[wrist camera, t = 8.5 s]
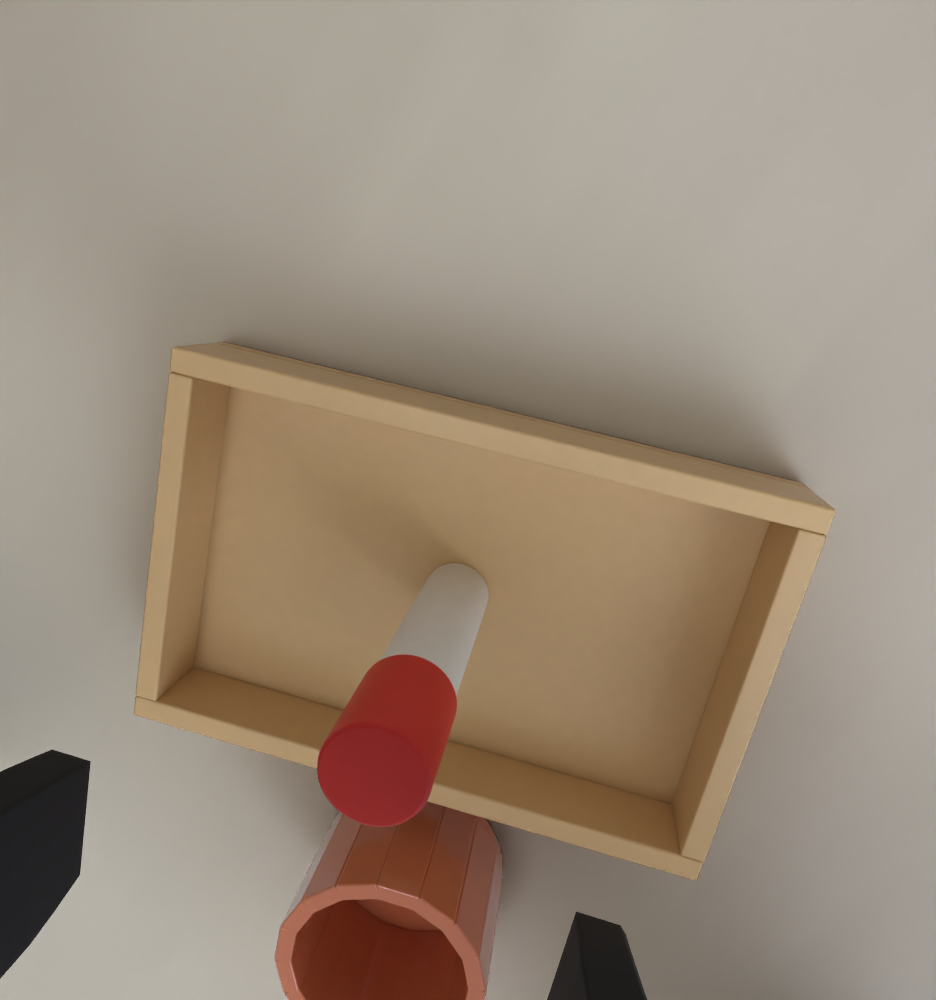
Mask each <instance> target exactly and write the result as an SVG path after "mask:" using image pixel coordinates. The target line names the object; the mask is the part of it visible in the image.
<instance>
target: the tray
mask: <svg viewBox="0 0 936 1000" xmlns="http://www.w3.org/2000/svg"><path fill="white" fill-rule="evenodd" d="M170 371H171V372H172V373H170V374H169V380H168V390H167V399H166V409H165V418H164V428H163V437H162V447H161V457H160V466H159V476H158V485H157V495H156V505H155V514H154V524H153V533H152V543H151V552H150V562H149V572H148V581H147V591H146V600H145V610H144V619H143V629H142V639H141V648H140V658H139V667H138V677H137V686H136V695H137V696H136V698H135V707H134V714H135V715H137V716H140V717H143V718H147V719H150V720H154V721H157V722H160V723H164V724H167V725H171V726H174V727H177V728H181V729H184V730H187V731H191V732H194V733H198V734H201V735H204V736H208V737H211V738H215V739H218V740H221V741H225V742H228V743H231V744H235V745H238V746H242V747H245V748H248V749H252V750H255V751H259V752H262V753H265V754H269V755H272V756H275V757H279V758H282V759H286V760H289V761H292V762H296V763H299V764H303V765H306V766H309V767H313V768H316V769H317V761H318V755H319V752H320V749H321V747H322V745H323V743H324V742H325V740H326V738H327V737H328V735H329V733H330V732H331V730H332V728H333V727H334V725H335V723H336V722H337V720H338V719H339V717H340V715H341V714H342V712H343V710H344V709H345V707H346V705H347V704H348V702H349V700H350V699H351V697H352V695H353V694H354V692H355V690H356V689H357V687H358V685H359V684H360V682H361V681H362V679H363V677H364V676H365V674H366V672H367V671H368V670H369V669H370V668H371V667H372V666H373V665H374V664H375V663H377V662H378V661H379V660H380V659H381V657H382V655H383V654H384V652H385V650H386V648H387V647H388V645H389V643H390V642H391V640H392V638H393V637H394V635H395V633H396V631H397V630H398V628H399V626H400V625H401V623H402V621H403V620H404V618H405V616H406V614H407V613H408V611H409V609H410V608H411V606H412V604H413V603H414V601H415V599H416V597H417V596H418V594H419V592H420V591H421V589H422V587H423V586H424V584H425V582H426V580H427V579H428V577H429V576H430V574H431V573H432V572H433V571H434V570H435V569H437V568H438V567H440V566H442V565H445V564H449V563H460V564H464V565H467V566H469V567H471V568H473V569H475V570H476V571H477V572H478V573H479V574H480V575H481V576H482V577H483V579H484V580H485V582H486V585H487V588H488V593H489V598H488V603H487V606H486V609H485V612H484V615H483V618H482V621H481V624H480V627H479V630H478V633H477V636H476V639H475V642H474V645H473V648H472V651H471V654H470V657H469V660H468V663H467V666H466V669H465V672H464V675H463V678H462V681H461V684H460V687H459V690H458V693H457V696H456V698H457V711H456V716H455V719H454V722H453V725H452V728H451V731H450V734H449V737H448V740H447V743H446V747H445V750H444V753H443V756H442V759H441V762H440V765H439V768H438V771H437V775H436V778H435V781H434V784H433V787H432V790H431V793H430V796H429V799H428V802H431V803H434V804H438V805H441V806H445V807H448V808H451V809H455V810H458V811H462V812H465V813H468V814H472V815H475V816H478V817H482V818H485V819H489V820H492V821H495V822H499V823H502V824H505V825H509V826H512V827H516V828H519V829H522V830H526V831H529V832H533V833H536V834H539V835H543V836H546V837H549V838H553V839H556V840H560V841H563V842H566V843H570V844H573V845H577V846H580V847H583V848H587V849H590V850H593V851H597V852H600V853H604V854H607V855H610V856H614V857H617V858H621V859H624V860H627V861H631V862H634V863H637V864H641V865H644V866H648V867H651V868H654V869H658V870H661V871H665V872H668V873H671V874H675V875H678V876H681V877H685V878H688V879H692V880H697V878H698V876H699V873H700V870H701V868H702V865H703V861H705V858H706V855H707V853H708V850H709V847H710V845H711V842H712V839H713V837H714V834H715V831H716V829H717V826H718V823H719V821H720V818H721V815H722V813H723V810H724V808H725V805H726V802H727V800H728V797H729V794H730V792H731V789H732V786H733V784H734V781H735V778H736V776H737V773H738V770H739V768H740V765H741V762H742V760H743V757H744V754H745V752H746V749H747V746H748V744H749V741H750V738H751V736H752V733H753V730H754V728H755V725H756V723H757V720H758V717H759V715H760V712H761V709H762V707H763V704H764V701H765V699H766V696H767V693H768V691H769V688H770V685H771V683H772V680H773V677H774V675H775V672H776V669H777V667H778V664H779V661H780V659H781V656H782V653H783V651H784V648H785V645H786V643H787V640H788V637H789V635H790V632H791V630H792V627H793V624H794V622H795V619H796V616H797V614H798V611H799V608H800V606H801V603H802V600H803V598H804V595H805V592H806V590H807V587H808V584H809V582H810V579H811V576H812V574H813V571H814V568H815V566H816V563H817V560H818V558H819V555H820V552H821V550H822V547H823V545H824V542H825V539H826V536H825V535H824V534H827V532H828V530H829V527H830V525H831V522H832V519H833V517H834V514H835V509H834V508H832V507H831V506H830V505H829V504H827V503H826V502H825V501H824V500H823V499H821V498H820V497H819V496H818V495H816V494H815V493H814V492H813V491H811V490H810V489H809V488H808V487H807V486H805V485H804V484H803V483H801V482H797V481H792V480H788V479H784V478H780V477H776V476H772V475H768V474H764V473H760V472H755V471H751V470H747V469H743V468H739V467H735V466H731V465H727V464H723V463H719V462H714V461H710V460H706V459H702V458H698V457H694V456H690V455H686V454H682V453H677V452H673V451H669V450H665V449H661V448H657V447H653V446H649V445H645V444H640V443H636V442H632V441H628V440H624V439H620V438H616V437H612V436H608V435H604V434H599V433H595V432H591V431H587V430H583V429H579V428H575V427H571V426H567V425H562V424H558V423H554V422H550V421H546V420H542V419H538V418H534V417H530V416H526V415H521V414H517V413H513V412H509V411H505V410H501V409H497V408H493V407H489V406H484V405H480V404H476V403H472V402H468V401H464V400H460V399H456V398H452V397H448V396H443V395H439V394H435V393H431V392H427V391H423V390H419V389H415V388H411V387H406V386H402V385H398V384H394V383H390V382H386V381H382V380H378V379H374V378H369V377H365V376H361V375H357V374H353V373H349V372H345V371H341V370H337V369H333V368H328V367H324V366H320V365H316V364H312V363H308V362H304V361H300V360H296V359H291V358H287V357H283V356H279V355H275V354H271V353H267V352H263V351H259V350H255V349H250V348H246V347H242V346H238V345H234V344H230V343H226V342H218V343H209V344H198V345H187V346H176V347H173V348H172V353H171V363H170Z"/></svg>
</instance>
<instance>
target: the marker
mask: <svg viewBox="0 0 936 1000" xmlns="http://www.w3.org/2000/svg"><path fill="white" fill-rule="evenodd" d="M488 598H489V593H488V588H487V585H486V582H485V580H484V579H483V577H482V576H481V575H480V574H479V573H478V572H477V571H476V570H475V569H473V568H471V567H469V566H467V565H464V564H460V563H449V564H445V565H442V566H440V567H438V568H437V569H435V570H434V571H433V572H432V573H431V574H430V576H429V577H428V579H427V580H426V582H425V584H424V586H423V587H422V589H421V591H420V592H419V594H418V596H417V597H416V599H415V601H414V603H413V604H412V606H411V608H410V609H409V611H408V613H407V614H406V616H405V618H404V620H403V621H402V623H401V625H400V626H399V628H398V630H397V631H396V633H395V635H394V637H393V638H392V640H391V642H390V643H389V645H388V647H387V648H386V650H385V652H384V654H383V655H382V657H381V659H380V660H379V661H378V662H377V663H375V664H374V665H373V666H372V667H371V668H370V669H369V670H368V671H367V672H366V674H365V676H364V677H363V679H362V681H361V682H360V684H359V685H358V687H357V689H356V690H355V692H354V694H353V695H352V697H351V699H350V700H349V702H348V704H347V705H346V707H345V709H344V710H343V712H342V714H341V715H340V717H339V719H338V720H337V722H336V723H335V725H334V727H333V728H332V730H331V732H330V733H329V735H328V737H327V738H326V740H325V742H324V743H323V745H322V747H321V749H320V752H319V755H318V761H317V774H318V779H319V783H320V786H321V788H322V790H323V793H324V794H325V796H326V798H327V799H328V800H329V802H330V803H331V804H332V805H333V806H334V807H335V808H336V809H337V810H338V811H339V812H341V813H342V814H343V815H345V816H346V817H348V818H349V819H352V820H354V821H356V822H358V823H361V824H364V825H368V826H375V827H388V826H394V825H398V824H401V823H404V822H406V821H407V820H409V819H411V818H412V817H414V816H415V815H416V814H418V813H419V812H420V811H421V810H422V808H423V807H424V806H425V804H426V803H427V801H428V799H429V796H430V793H431V790H432V787H433V784H434V781H435V778H436V775H437V771H438V768H439V765H440V762H441V759H442V756H443V753H444V750H445V747H446V743H447V740H448V737H449V734H450V731H451V728H452V725H453V722H454V719H455V716H456V711H457V698H456V696H457V693H458V690H459V687H460V684H461V681H462V678H463V675H464V672H465V669H466V666H467V663H468V660H469V657H470V654H471V651H472V648H473V645H474V642H475V639H476V636H477V633H478V630H479V627H480V624H481V621H482V618H483V615H484V612H485V609H486V606H487V603H488Z"/></svg>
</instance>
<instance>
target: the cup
mask: <svg viewBox="0 0 936 1000" xmlns="http://www.w3.org/2000/svg"><path fill="white" fill-rule="evenodd" d="M502 870H503V861H502V853H501V849H500V845H499V842H498V840H497V838H496V835H495V833H494V831H493V829H492V828H491V826H490V824H489V823H488V821H487V820H486V819H485V818H482V817H478V816H475V815H472V814H468V813H465V812H462V811H458V810H455V809H451V808H448V807H445V806H441V805H438V804H434V803H431V802H428V801H427V803H426V804H425V806H424V807H423V808H422V810H421V811H420V812H419V813H418V814H416V815H415V816H414V817H412V818H411V819H409V820H407V821H406V822H404V823H401V824H398V825H394V826H388V827H375V826H368V825H364V824H361V823H358V822H356V821H354V820H352V819H349V818H348V817H346V816H345V815H343V814H342V813H341V812H339V813H338V814H337V816H336V818H335V820H334V822H333V823H332V825H331V826H330V827H329V829H328V831H327V833H326V835H325V837H324V839H323V841H322V843H321V845H320V847H319V849H318V852H317V854H316V856H315V858H314V860H313V862H312V864H311V866H310V868H309V870H308V872H307V874H306V876H305V878H304V880H303V882H302V884H301V886H300V888H299V890H298V892H297V894H296V896H295V898H294V900H293V902H292V904H291V906H290V908H289V910H288V912H287V914H286V916H285V918H284V920H283V922H282V924H281V926H280V931H279V936H278V941H277V947H276V952H275V963H276V967H277V970H278V974H279V977H280V981H281V985H282V988H283V992H285V995H286V997H287V998H288V999H289V1000H484V998H485V995H486V991H487V984H488V977H489V970H490V963H491V956H492V950H493V943H494V936H495V929H496V922H497V915H498V909H499V902H500V895H501V888H502Z"/></svg>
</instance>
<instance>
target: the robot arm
mask: <svg viewBox="0 0 936 1000" xmlns="http://www.w3.org/2000/svg"><path fill="white" fill-rule="evenodd" d="M89 771H90V761H87V760H84V759H81V758H78V757H74V756H71V755H68V754H65V753H62V752H58V751H55V750H50V751H48V752H45V753H43V754H40V755H38V756H35V757H33V758H31V759H28V760H26V761H24V762H21V763H19V764H17V765H14V766H12V767H10V768H8V769H5V770H3V771H1V772H0V978H1V977H2V976H3V975H4V974H5V972H6V971H7V970H8V969H9V968H10V967H11V966H12V965H13V963H14V962H15V961H16V960H17V959H18V958H19V956H20V955H21V954H22V953H23V952H24V951H25V950H26V948H27V947H28V946H29V945H30V944H31V942H32V941H33V940H34V938H35V937H36V936H37V934H38V933H39V931H40V930H41V929H42V927H43V926H44V925H45V923H46V922H47V921H48V919H49V918H50V917H51V915H52V914H53V912H54V911H55V910H56V908H57V907H58V905H59V904H60V902H61V901H62V900H63V898H64V897H65V895H66V894H67V892H68V891H69V890H70V888H71V887H72V885H73V884H74V882H75V881H76V879H77V878H78V877H79V875H80V867H81V856H82V846H83V835H84V825H85V814H86V803H87V793H88V782H89ZM547 1000H647V998H646V995H645V992H644V989H643V986H642V983H641V980H640V977H639V974H638V971H637V968H636V965H635V962H634V959H633V956H632V953H631V950H630V947H629V944H628V940H627V937H626V934H625V933H624V931H623V929H622V927H621V926H620V925H618V924H614V923H611V922H608V921H605V920H601V919H598V918H595V917H592V916H588V915H585V914H582V913H579V912H576V914H575V917H574V920H573V923H572V926H571V929H570V932H569V935H568V938H567V941H566V944H565V947H564V950H563V953H562V956H561V960H560V963H559V966H558V969H557V972H556V975H555V978H554V981H553V984H552V987H551V990H550V993H549V996H548V999H547Z"/></svg>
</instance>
